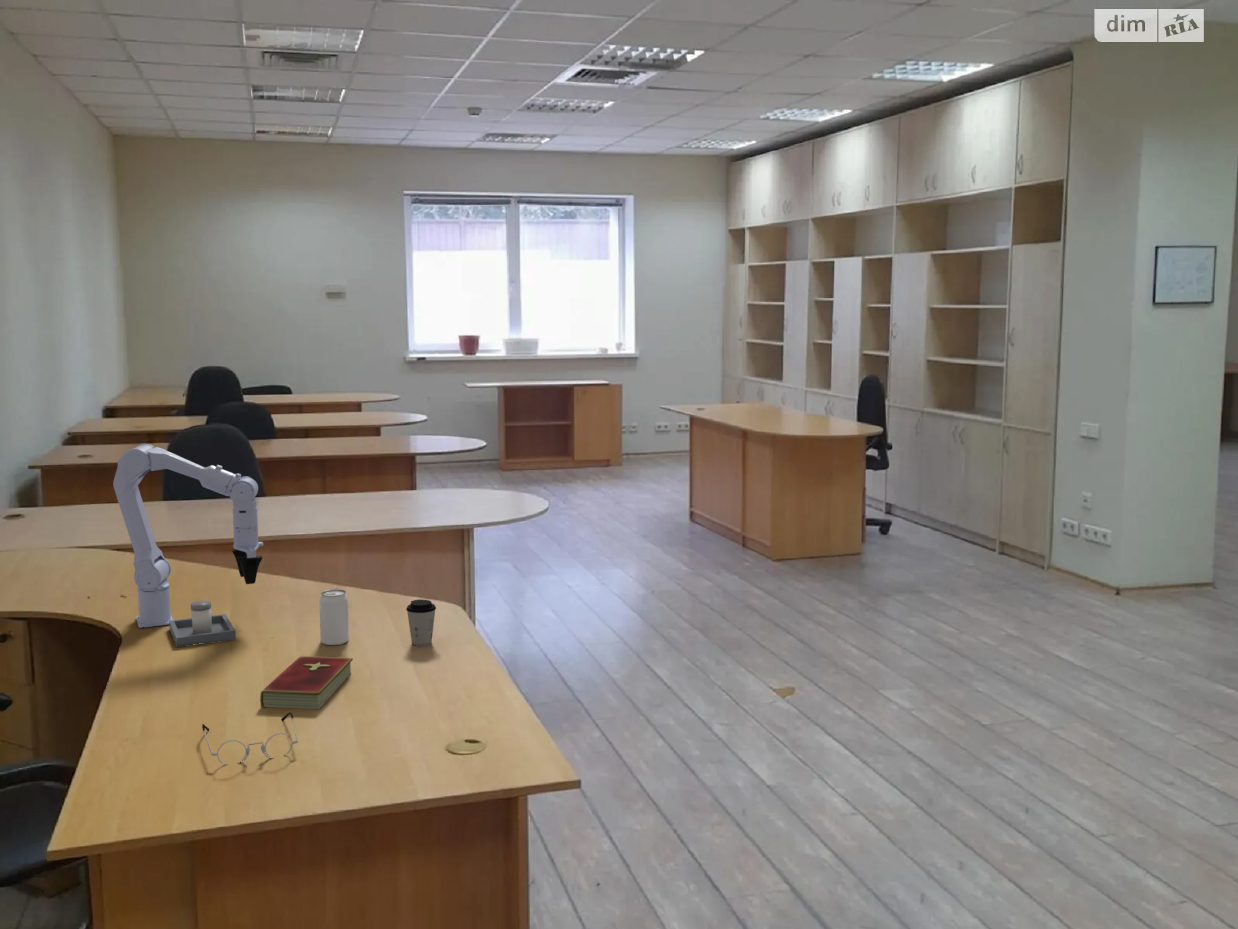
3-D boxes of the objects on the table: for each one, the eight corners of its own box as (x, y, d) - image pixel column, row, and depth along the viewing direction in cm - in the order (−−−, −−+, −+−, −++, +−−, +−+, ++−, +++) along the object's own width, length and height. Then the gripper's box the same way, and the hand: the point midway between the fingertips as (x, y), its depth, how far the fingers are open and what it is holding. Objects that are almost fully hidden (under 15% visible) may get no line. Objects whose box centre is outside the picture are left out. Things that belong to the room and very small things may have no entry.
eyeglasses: (208, 773, 186) (206, 745, 185) (201, 733, 203) (200, 707, 202) (303, 758, 192) (302, 731, 192) (289, 720, 209) (288, 695, 208)
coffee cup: (442, 643, 255) (442, 602, 254) (418, 650, 250) (418, 608, 248) (424, 636, 260) (424, 596, 258) (400, 643, 255) (400, 602, 253)
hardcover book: (260, 709, 214) (259, 689, 214) (299, 673, 235) (298, 654, 234) (319, 712, 213) (319, 691, 213) (353, 675, 234) (352, 656, 234)
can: (341, 647, 251) (340, 597, 249) (315, 645, 253) (314, 595, 251) (353, 638, 258) (352, 590, 256) (328, 636, 259) (327, 588, 257)
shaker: (190, 630, 260) (189, 602, 258) (211, 627, 262) (209, 599, 261) (193, 636, 256) (192, 607, 254) (214, 633, 258) (212, 605, 257)
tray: (169, 629, 262) (169, 620, 262) (225, 622, 268) (225, 614, 268) (176, 647, 249) (176, 638, 249) (235, 639, 255) (235, 630, 255)
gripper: (267, 530, 262) (269, 585, 265) (257, 519, 275) (258, 571, 277) (237, 533, 259) (239, 588, 261) (227, 522, 272) (230, 574, 274)
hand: (247, 580), depth 269 cm, fingers open, 7 cm apart
